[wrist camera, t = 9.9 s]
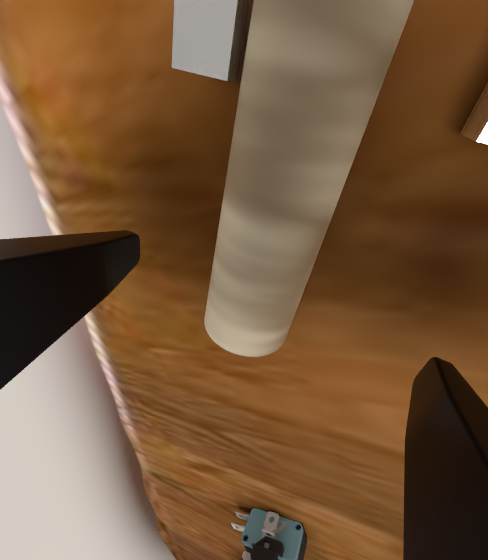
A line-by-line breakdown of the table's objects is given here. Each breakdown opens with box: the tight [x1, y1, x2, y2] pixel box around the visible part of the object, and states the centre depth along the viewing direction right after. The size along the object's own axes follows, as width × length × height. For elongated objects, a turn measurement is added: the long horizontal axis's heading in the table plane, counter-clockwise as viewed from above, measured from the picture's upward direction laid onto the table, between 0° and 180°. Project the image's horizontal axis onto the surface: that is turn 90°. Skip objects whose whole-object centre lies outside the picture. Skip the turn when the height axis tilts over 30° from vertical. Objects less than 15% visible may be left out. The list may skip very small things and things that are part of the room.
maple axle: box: [204, 0, 414, 357], centre depth 11 cm, size 12×4×4 cm
